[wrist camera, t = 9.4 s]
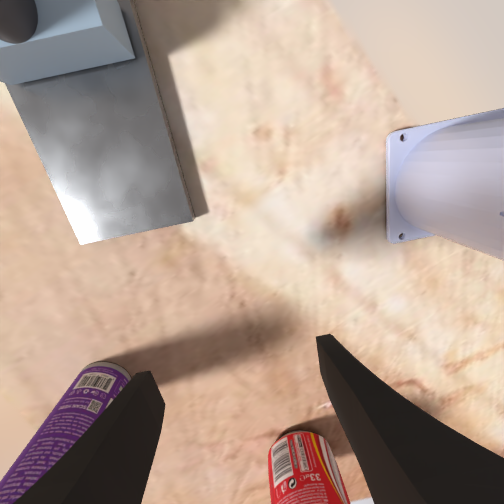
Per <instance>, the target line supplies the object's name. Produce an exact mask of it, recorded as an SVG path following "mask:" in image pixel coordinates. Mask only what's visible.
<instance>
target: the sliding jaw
mask: <svg viewBox="0 0 504 504" xmlns="http://www.w3.org/2000/svg"><path fill="white" fill-rule="evenodd" d="M134 58H135V56H134V52H133V49H132V46H131V42H130V39H129V36H128V32H127V29H126V26H125V22H124V19H123V16H122V12H121V9H120V6H119V3H118V1H117V0H0V82H4V83H7V84H10V85H15V84H19V83H24V82H29V81H33V80H38V79H42V78H47V77H52V76H56V75H61V74H65V73H70V72H75V71H79V70H84V69H88V68H93V67H97V66H102V65H107V64H111V63H116V62H120V61H125V60H130V59H134Z"/></svg>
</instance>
